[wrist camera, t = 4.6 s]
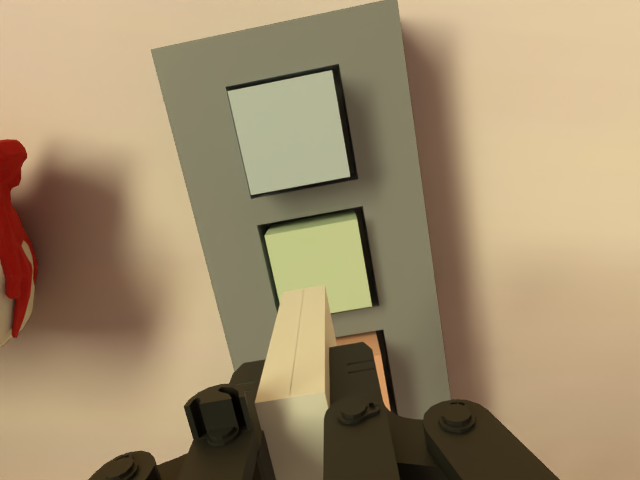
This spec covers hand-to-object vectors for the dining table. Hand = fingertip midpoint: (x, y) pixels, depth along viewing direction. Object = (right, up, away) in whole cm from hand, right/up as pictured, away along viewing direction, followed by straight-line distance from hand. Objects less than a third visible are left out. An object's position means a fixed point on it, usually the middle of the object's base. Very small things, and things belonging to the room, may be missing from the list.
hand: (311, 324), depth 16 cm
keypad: (+1, -1, +10) cm, 10 cm away
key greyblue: (-1, +8, +6) cm, 10 cm away
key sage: (0, +2, +8) cm, 8 cm away
